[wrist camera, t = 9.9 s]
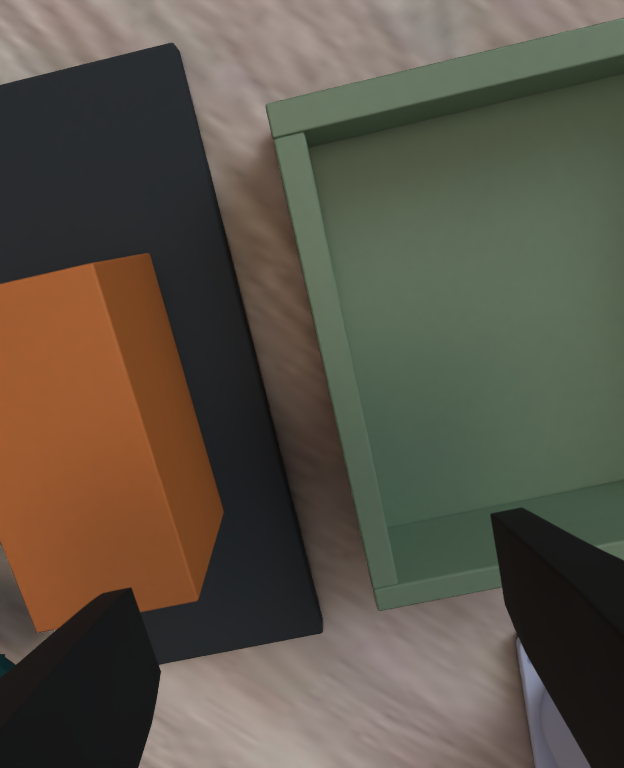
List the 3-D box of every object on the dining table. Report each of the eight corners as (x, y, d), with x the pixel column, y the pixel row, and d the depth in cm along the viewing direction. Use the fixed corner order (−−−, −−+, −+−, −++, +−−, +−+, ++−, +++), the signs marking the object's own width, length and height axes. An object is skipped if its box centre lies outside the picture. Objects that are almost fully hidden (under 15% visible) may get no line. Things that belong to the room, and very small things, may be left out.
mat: (323, 619, 22) (323, 634, 22) (96, 663, 23) (89, 679, 22) (179, 48, 17) (173, 41, 17) (-109, 120, 18) (-128, 115, 17)
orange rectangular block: (224, 512, 20) (198, 602, 16) (99, 538, 21) (36, 633, 16) (150, 252, 18) (92, 262, 13) (10, 284, 18) (-96, 306, 13)
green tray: (740, 471, 21) (832, 524, 17) (365, 547, 22) (377, 612, 18) (726, 20, 17) (839, -35, 14) (273, 128, 18) (264, 103, 14)
